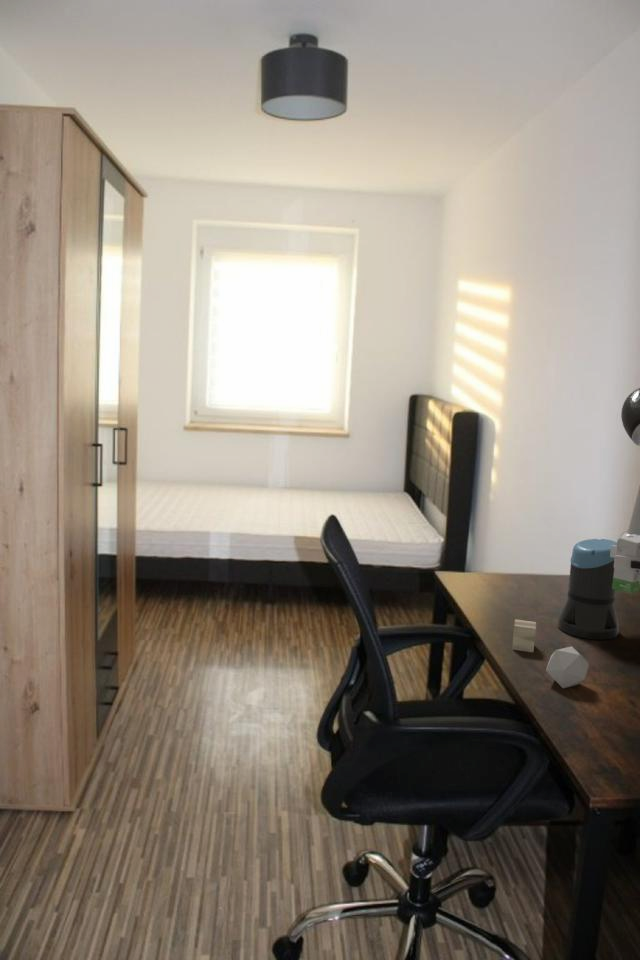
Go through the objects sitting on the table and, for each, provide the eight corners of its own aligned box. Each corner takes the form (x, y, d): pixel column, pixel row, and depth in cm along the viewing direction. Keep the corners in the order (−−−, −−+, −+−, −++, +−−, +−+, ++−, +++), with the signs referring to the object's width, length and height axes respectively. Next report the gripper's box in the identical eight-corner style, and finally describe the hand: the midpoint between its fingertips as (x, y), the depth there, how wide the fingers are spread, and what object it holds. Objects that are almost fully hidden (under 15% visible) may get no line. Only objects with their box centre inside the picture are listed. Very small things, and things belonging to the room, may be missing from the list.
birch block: (512, 642, 204) (515, 619, 203) (533, 645, 203) (536, 622, 202) (512, 649, 199) (514, 625, 198) (533, 652, 198) (535, 628, 197)
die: (565, 676, 186) (543, 642, 185) (600, 667, 181) (577, 633, 179) (557, 700, 180) (534, 666, 178) (593, 692, 175) (569, 657, 173)
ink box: (631, 594, 183) (637, 542, 181) (610, 589, 187) (616, 537, 185) (649, 588, 189) (655, 537, 187) (628, 582, 193) (633, 533, 191)
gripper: (728, 598, 173) (615, 585, 178) (707, 571, 194) (607, 560, 199) (733, 563, 171) (618, 551, 177) (712, 540, 192) (610, 530, 198)
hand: (612, 556), depth 188 cm, fingers closed on ink box, 9 cm apart
